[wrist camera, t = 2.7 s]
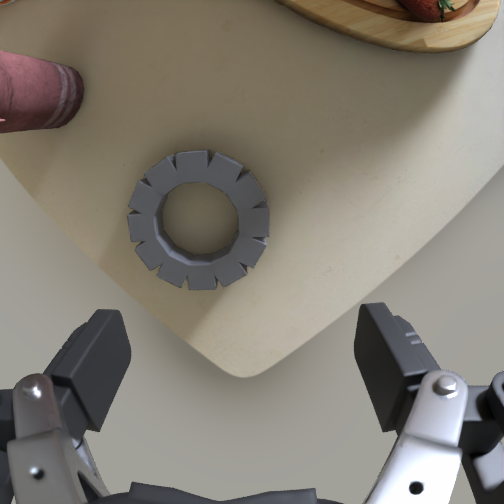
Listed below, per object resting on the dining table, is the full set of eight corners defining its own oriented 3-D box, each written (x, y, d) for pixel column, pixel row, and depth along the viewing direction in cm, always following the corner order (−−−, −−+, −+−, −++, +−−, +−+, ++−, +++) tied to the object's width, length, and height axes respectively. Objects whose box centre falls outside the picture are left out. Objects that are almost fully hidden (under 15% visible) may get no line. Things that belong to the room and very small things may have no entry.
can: (64, 142, 24) (-46, 163, 11) (27, 108, 23) (-79, 115, 10) (100, 88, 23) (-7, 69, 10) (60, 56, 21) (-44, 32, 8)
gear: (146, 279, 29) (139, 290, 27) (130, 156, 25) (120, 159, 23) (268, 276, 29) (269, 288, 27) (265, 147, 25) (267, 148, 23)
